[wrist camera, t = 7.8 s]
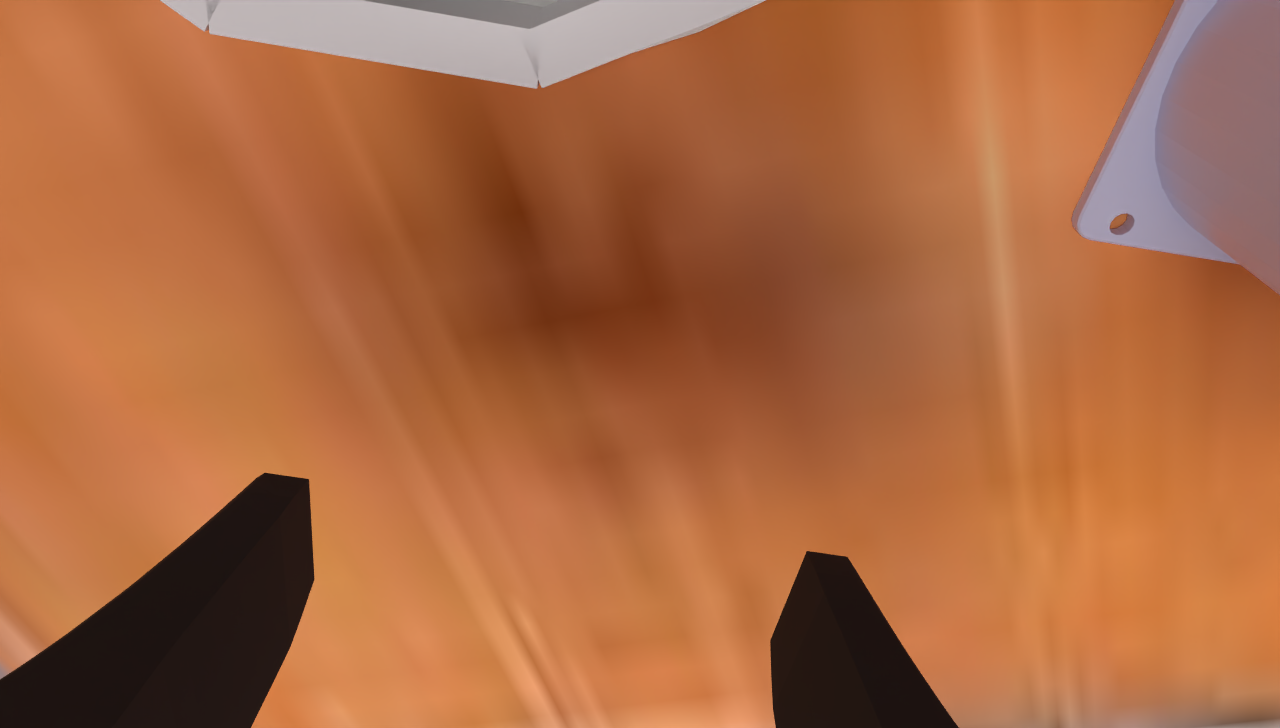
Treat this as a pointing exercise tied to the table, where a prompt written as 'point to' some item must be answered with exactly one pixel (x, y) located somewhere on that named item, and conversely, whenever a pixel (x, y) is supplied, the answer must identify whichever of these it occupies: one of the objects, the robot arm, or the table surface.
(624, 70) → the table surface
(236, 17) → the carrier
